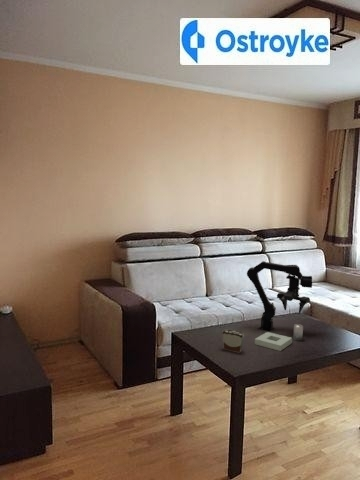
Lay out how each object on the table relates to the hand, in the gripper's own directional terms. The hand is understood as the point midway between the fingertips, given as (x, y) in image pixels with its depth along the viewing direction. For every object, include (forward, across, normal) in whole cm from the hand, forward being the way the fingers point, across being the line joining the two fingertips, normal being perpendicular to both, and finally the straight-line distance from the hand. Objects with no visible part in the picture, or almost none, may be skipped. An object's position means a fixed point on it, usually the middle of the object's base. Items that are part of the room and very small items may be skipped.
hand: (292, 311), depth 238 cm
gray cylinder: (+12, +9, -10) cm, 18 cm away
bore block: (+12, +2, -27) cm, 29 cm away
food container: (+12, -9, -48) cm, 51 cm away
